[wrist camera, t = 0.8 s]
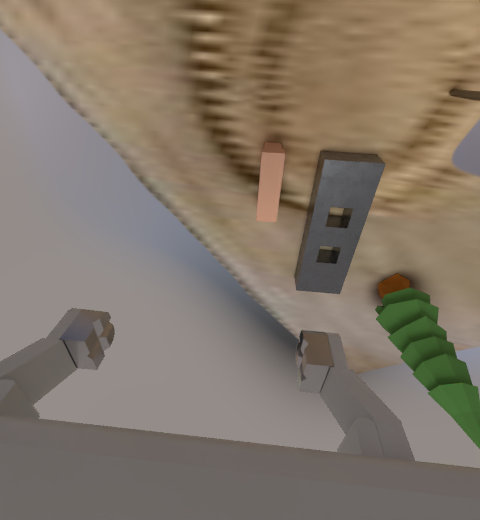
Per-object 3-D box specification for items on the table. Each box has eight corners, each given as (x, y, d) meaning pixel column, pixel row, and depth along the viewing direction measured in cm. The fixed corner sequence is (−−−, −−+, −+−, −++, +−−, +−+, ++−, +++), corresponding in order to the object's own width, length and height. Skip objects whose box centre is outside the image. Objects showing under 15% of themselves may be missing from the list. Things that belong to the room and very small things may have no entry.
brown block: (262, 139, 41) (261, 152, 36) (283, 141, 41) (285, 153, 36) (257, 203, 47) (256, 220, 42) (275, 204, 47) (276, 222, 42)
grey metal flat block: (320, 150, 41) (324, 159, 38) (376, 154, 41) (385, 163, 38) (294, 276, 56) (296, 290, 52) (335, 279, 55) (339, 293, 52)
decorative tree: (429, 280, 53) (558, 468, 30) (394, 311, 59) (479, 490, 35) (386, 262, 52) (485, 446, 28) (355, 295, 57) (415, 473, 33)
